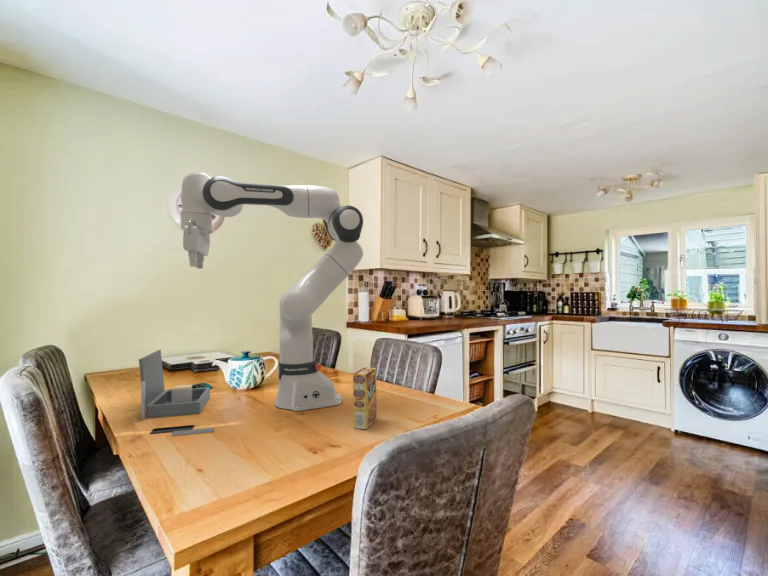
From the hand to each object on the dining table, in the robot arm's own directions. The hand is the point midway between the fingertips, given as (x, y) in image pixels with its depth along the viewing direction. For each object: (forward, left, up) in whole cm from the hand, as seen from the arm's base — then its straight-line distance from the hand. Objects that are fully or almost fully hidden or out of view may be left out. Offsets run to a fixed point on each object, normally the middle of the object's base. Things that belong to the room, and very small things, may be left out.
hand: (196, 267), depth 118 cm
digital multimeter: (+7, -24, -46) cm, 53 cm away
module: (+5, -4, -45) cm, 45 cm away
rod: (-3, +20, -46) cm, 50 cm away
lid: (+13, -3, -34) cm, 37 cm away
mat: (+3, +12, -46) cm, 47 cm away
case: (+5, -3, -46) cm, 46 cm away
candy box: (-49, +26, -46) cm, 72 cm away
